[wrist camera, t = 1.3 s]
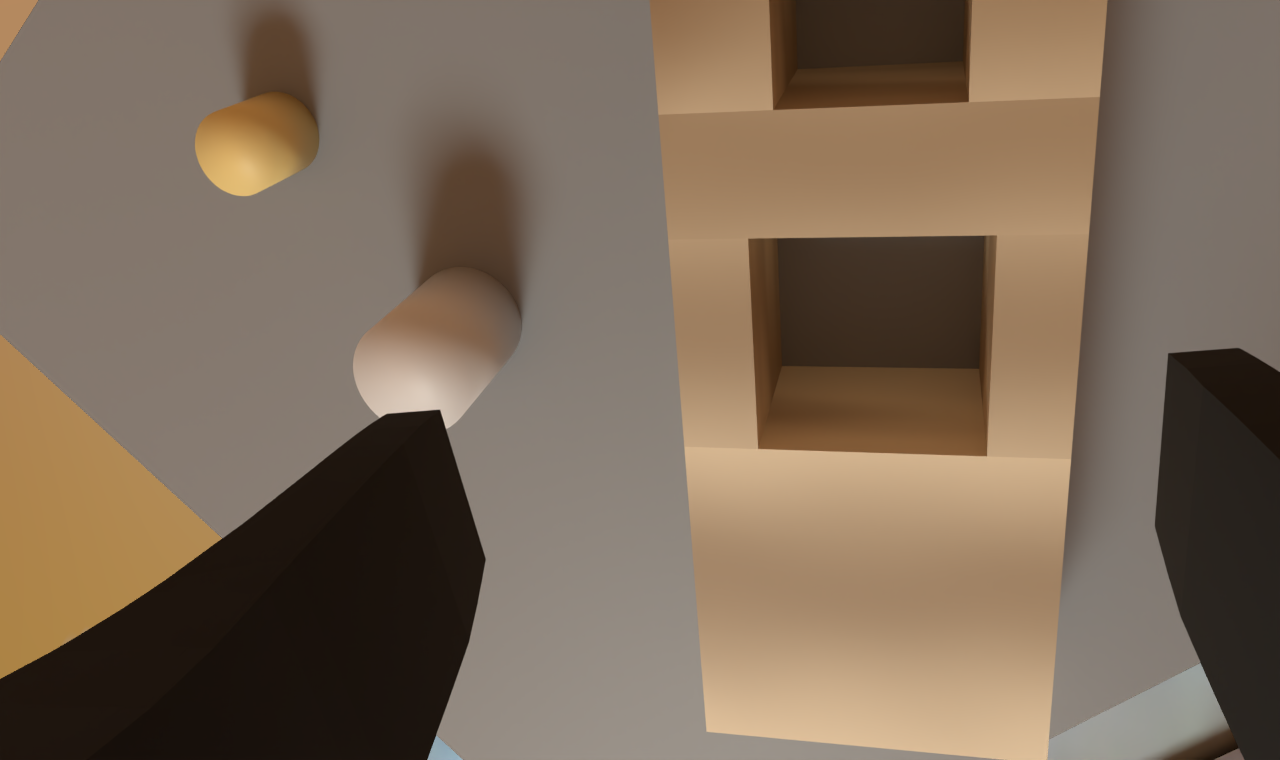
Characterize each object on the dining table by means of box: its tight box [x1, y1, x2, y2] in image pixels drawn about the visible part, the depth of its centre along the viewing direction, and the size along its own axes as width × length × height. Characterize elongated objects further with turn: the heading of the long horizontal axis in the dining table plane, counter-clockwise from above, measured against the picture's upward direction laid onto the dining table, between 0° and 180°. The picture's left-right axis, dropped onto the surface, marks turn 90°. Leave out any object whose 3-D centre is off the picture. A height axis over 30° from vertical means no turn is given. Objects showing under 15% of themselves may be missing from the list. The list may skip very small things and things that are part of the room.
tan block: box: [650, 0, 1107, 760], centre depth 17 cm, size 14×5×3 cm, turn 5°
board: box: [0, 0, 1280, 760], centre depth 19 cm, size 22×22×4 cm
